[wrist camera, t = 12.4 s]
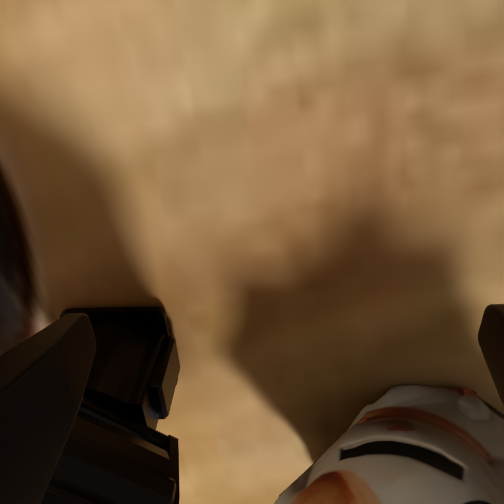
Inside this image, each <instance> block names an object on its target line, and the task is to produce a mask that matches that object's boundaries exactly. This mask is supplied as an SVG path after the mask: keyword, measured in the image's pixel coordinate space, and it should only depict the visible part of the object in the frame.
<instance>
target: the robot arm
mask: <svg viewBox="0 0 504 504" xmlns="http://www.w3.org/2000/svg"><path fill="white" fill-rule="evenodd" d="M154 314H158V315H160V316H156V315H154ZM478 342H479V345H480V348H481V350H482V353H483V356H484V358H485V361H486V363H487V366H488V368H489V371H490V373H491V376H492V378H493V381H494V383H495V386H496V388H497V391H498V394H499V396H500V398H501V401H502V403H503V405H504V304H490V305H488V306H487V307H486V308H485V311H484V314H483V318H482V321H481V325H480V328H479V332H478ZM179 370H180V363H179V358H178V352H177V347H176V341H175V339H174V338H173V337H172V336H170V333H169V327H168V322H167V316H166V312H165V310H164V309H163V308H161V307H117V308H76V309H65V310H64V311H63V312H62V314H61V315H60V319H59V320H57V321H56V322H54V323H52V324H51V325H49V326H48V327H46V328H44V329H43V330H41V331H40V332H38V333H36V334H35V335H33V336H32V337H30V338H28V339H27V340H25V341H24V342H22V343H20V344H19V345H17V346H16V347H14V348H12V349H11V350H9V351H8V352H6V353H4V354H3V355H1V356H0V504H179V452H178V439H177V438H175V437H173V436H171V435H168V436H167V435H165V434H163V433H161V432H158V431H156V427H157V423H158V419H165V418H166V417H167V416H168V415H169V411H170V407H171V403H172V399H173V395H174V391H175V387H176V384H177V381H178V374H179Z"/></svg>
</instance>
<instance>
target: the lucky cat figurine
mask: <svg viewBox="0 0 504 504" xmlns="http://www.w3.org/2000/svg"><path fill="white" fill-rule="evenodd" d="M274 504H504V415H503V414H502V413H500V412H499V411H497V410H496V409H495V408H493V407H492V406H490V405H489V404H488V403H486V402H485V401H483V400H482V399H481V398H480V397H478V396H477V394H476V393H475V392H474V391H471V390H469V389H455V388H441V387H428V386H420V385H405V386H395V387H392V389H390V390H389V391H388V392H387V393H386V394H385V395H384V396H383V397H381V398H380V399H379V400H377V401H376V402H375V403H374V404H371V405H366V406H365V407H364V408H363V409H362V410H361V412H360V413H359V415H358V416H357V417H356V419H355V420H354V422H353V423H352V424H351V426H350V427H349V429H348V430H347V431H346V432H345V433H344V434H343V435H342V436H341V437H340V438H339V439H338V440H337V441H336V442H335V443H334V444H333V445H332V446H331V447H330V448H329V449H328V450H327V451H326V452H325V453H324V454H323V455H322V456H321V457H320V458H319V459H318V460H317V461H316V462H315V463H314V464H313V465H311V466H310V467H309V468H308V469H307V470H306V471H305V472H304V473H303V474H302V475H301V476H300V477H299V478H298V479H296V480H295V481H294V482H293V483H292V484H291V485H290V486H289V487H288V488H287V489H286V490H284V491H283V492H282V493H281V494H280V495H279V497H278V499H277V500H276V501H275V503H274Z"/></svg>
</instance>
